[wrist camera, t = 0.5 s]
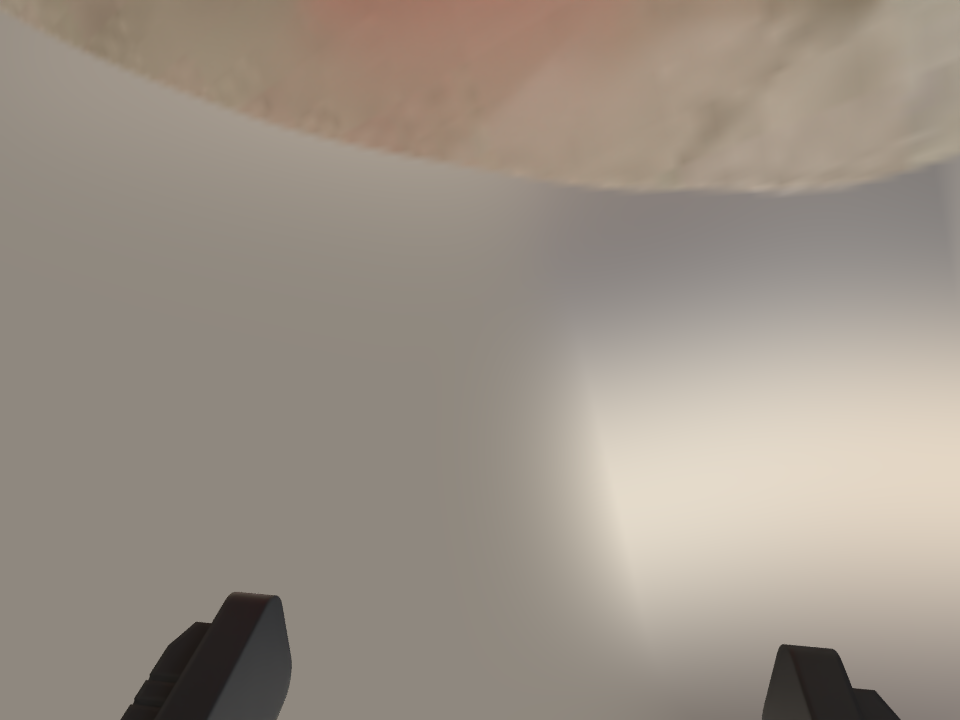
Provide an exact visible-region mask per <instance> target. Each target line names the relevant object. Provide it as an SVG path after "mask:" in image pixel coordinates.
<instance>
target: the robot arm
mask: <svg viewBox="0 0 960 720" xmlns="http://www.w3.org/2000/svg"><path fill="white" fill-rule="evenodd" d="M291 669H292V661H291V654H290V648H289V642H288V636H287V630H286V624H285V618H284V612H283V606H282V602H281V599H280V598H279V597H278V596H275V595H264V594H253V593H243V592H233V593H231V594H230V595H229V596H228V597H227V599H226V600H225V602H224V603H223V605H222V607H221V609H220V610H219V612H218V614H217V615H216V617H215V619H214V620H213V622H212V623H203V622H195V623H194V624H193V625H192V626H191V627H190V628H188V629H187V630H186V631H185V632H184V633H182V634H181V635H180V636H179V637H178V638H177V639H175V640H174V641H173V642H172V643H171V644H170V645H168V647H167V648H166V650H165V651H164V653H163V654H162V656H161V658H160V659H159V661H158V662H157V664H156V665H155V667H154V669H153V670H152V672H151V673H150V678H149V680H146V681H145V683H144V684H143V686H142V687H141V689H140V690H139V692H138V694H137V695H136V697H135V698H134V703H133V705H130V706H129V707H128V709H127V711H126V712H125V714H124V715H123V717H122V718H121V720H276V719H277V717H278V715H279V713H280V710H281V708H282V705H283V703H284V701H285V698H286V695H287V692H288V688H289V684H290V678H291ZM762 720H900V719H899V717H898V716H897V715H896V714H895V713H894V712H893V711H892V709H891V708H890V707H889V706H888V705H887V704H886V703H885V701H883V699H882V698H881V697H880V696H879V695H878V694H877V692H876V691H875V690H866V689H855V688H852V686H851V683H850V681H849V678H848V676H847V673H846V671H845V668H844V666H843V663H842V661H841V658H840V656H839V655H838V653H837V652H836V651H835V650H833V649H828V648H818V647H806V646H796V645H784V644H782V645H781V646H780V647H779V649H778V652H777V656H776V660H775V664H774V668H773V672H772V676H771V680H770V684H769V688H768V692H767V696H766V700H765V704H764V708H763V714H762Z"/></svg>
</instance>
